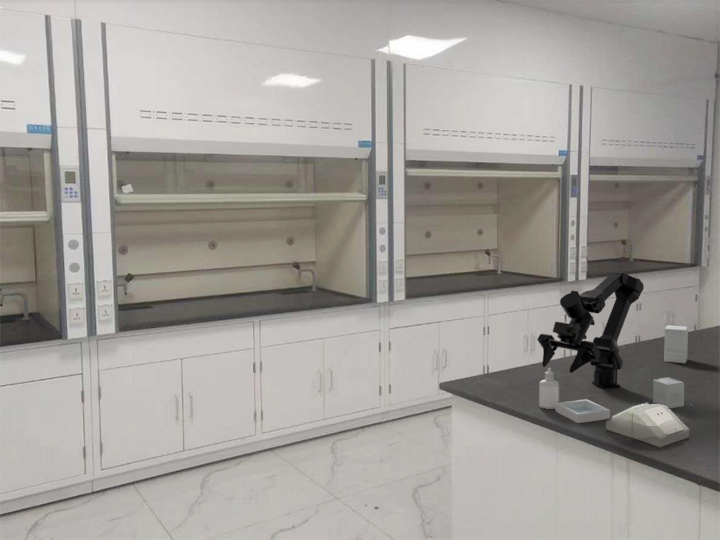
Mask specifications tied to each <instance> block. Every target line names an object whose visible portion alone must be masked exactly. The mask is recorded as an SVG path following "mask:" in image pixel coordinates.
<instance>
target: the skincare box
mask: <svg viewBox="0 0 720 540" xmlns="http://www.w3.org/2000/svg"><path fill="white" fill-rule="evenodd" d="M652 385H653V386H652V387H653V391H652V392H653V393H652V394H653V397H652V401H653V402H652V403H653V404H655V403H660V404H664V405H666V406H668V407H669V408H668V409H674V408H683V407H684V406H685V382H683V381H681V380H678V379H675V378H672V377H661V378H654V379H653V383H652Z"/></svg>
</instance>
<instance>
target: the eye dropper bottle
mask: <svg viewBox="0 0 720 540" xmlns="http://www.w3.org/2000/svg"><path fill="white" fill-rule="evenodd" d="M559 383H560V382H558V381H557V380H555V379H554V372H553V371H552V369H551V367H547V371H545V372H544V379H542V380H541V381H539V383H538V384H539V387H538V390H539V391H538V394H539V396H538V398H539V399H538V404H539V405H538V406H539V408H540V409H544V408H545V410H556V403H560V384H559Z"/></svg>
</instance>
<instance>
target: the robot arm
mask: <svg viewBox="0 0 720 540" xmlns="http://www.w3.org/2000/svg"><path fill="white" fill-rule="evenodd" d="M644 288H645V287H644V283H643V281H642V280H641V279H640V278H636V277H634V276H631V275H629V274H627V273H625V272H624V271H623V272H621V271H610V272H609V274H608V276H606V278H605V279H603V280H602V281H601V282H600V283H599V284H598V285H597V286H595V287H594V288H593V289H590V290H586V291H584V292H582V293H580V292H578V291H577V290H571V291H570V292H569V293H567V294H565V295H563V296H562V297H560V299H559V304H560V306H561V307H562V309H563V311H564V312H565V314H566V316H567V317H568V318H569V319H570V320H569V323H567V322H560V321H554V325H553V329H552V333H555V334H557V338H558V339H560V340H556V339H555V337H554V336H553V335H552V334H546V333H540V334H539V335H538V337H537V339H536V340H537V341H538V344H540V347H541V348H542V350H543V356H542V363H541V366H542V367H543V368H545V367H546V366H547V365H548V364H549V363H550V361H551V360H552V359H553V357H554V356H555V354H556V352H555V351H557V350H558V348H561V349H566V350H571V351H575V352H576V356H575V357H574V359H573V361H572V363H571V365H570V368H569V372H570V373H571V374H573V373H574V372H575V371H577V370H579V368H581V367H583V366H584V365H586V364H588V363H590V367H591V366H592V367H595V368H594V371H593V381H591V384H592V385H596V386H598V387H600V388H603V389H607V388H609V389H610V388H616V387H621V384H620V383H618V370H621V369H622V367H623V363H624V361H623V359H622V358H621V356H620V355H619V353H620V349H619V344H618V340H619V337H620V334H621V332H622V329H623V327H624V323H625V321H626V318H627V316H628V313H629V311H630V308H631V305H632V304H633V303H635V302H636V301H638V300H639V298H640V296H641V294H642V292H643V291H644ZM613 294H614V295H615V301H614V303H613V306H612V308H611V311H610V313H609V317H608V319H607V322H606V325H605V326H604V330H603V332H602V334H601V335H600V336H595V337H594V338H593V341H589V340H588V341H587V340H586V339H587V338H588V336H587V332H588V331H589V328H590V326H595V325H596V323H595V320H594V316H592V314H600V313H601V312H602V310H603V309H604V308H605V307H606V300H607V299H609V298H610V297H611V296H612V295H613Z"/></svg>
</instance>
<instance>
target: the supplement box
mask: <svg viewBox="0 0 720 540" xmlns="http://www.w3.org/2000/svg"><path fill="white" fill-rule="evenodd" d="M688 340H689V327H688V326H683V325H669V324H667V325H666V326H665V327H664V349H663V351H664V352H663V353H664V354H663V355H664V359H663V361H664V362H667V363H678V364H679V363H680V364H686V363H687V361H688V345H689V344H688Z"/></svg>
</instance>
